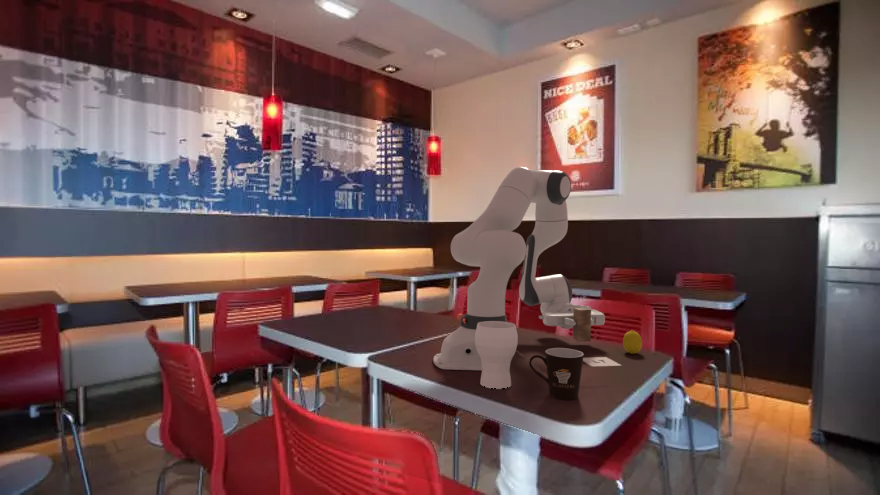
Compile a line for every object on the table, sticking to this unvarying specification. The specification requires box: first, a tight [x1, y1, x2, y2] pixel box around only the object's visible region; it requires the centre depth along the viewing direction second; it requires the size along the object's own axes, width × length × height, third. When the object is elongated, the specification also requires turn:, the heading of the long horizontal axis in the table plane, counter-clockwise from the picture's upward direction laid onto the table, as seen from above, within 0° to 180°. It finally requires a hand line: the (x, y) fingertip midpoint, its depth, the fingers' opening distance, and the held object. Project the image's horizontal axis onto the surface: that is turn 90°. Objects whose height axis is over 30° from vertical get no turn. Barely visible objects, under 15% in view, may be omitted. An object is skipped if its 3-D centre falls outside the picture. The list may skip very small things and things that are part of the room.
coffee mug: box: [528, 347, 584, 401], centre depth 104 cm, size 12×9×10 cm
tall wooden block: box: [572, 308, 592, 342], centre depth 142 cm, size 4×4×10 cm
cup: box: [475, 321, 519, 390], centre depth 111 cm, size 11×11×15 cm
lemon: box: [622, 329, 643, 355], centre depth 140 cm, size 6×6×8 cm
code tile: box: [583, 356, 622, 367], centre depth 130 cm, size 9×9×1 cm
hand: (583, 323), depth 141 cm, fingers closed on tall wooden block, 4 cm apart
